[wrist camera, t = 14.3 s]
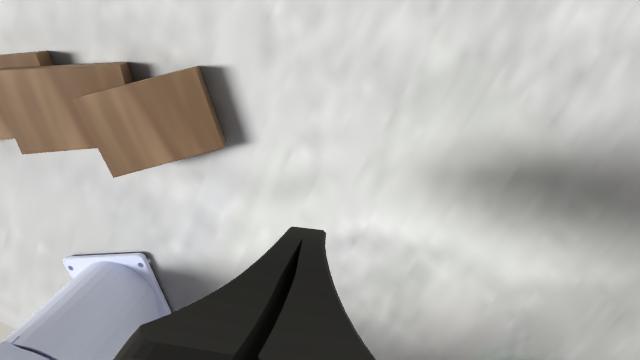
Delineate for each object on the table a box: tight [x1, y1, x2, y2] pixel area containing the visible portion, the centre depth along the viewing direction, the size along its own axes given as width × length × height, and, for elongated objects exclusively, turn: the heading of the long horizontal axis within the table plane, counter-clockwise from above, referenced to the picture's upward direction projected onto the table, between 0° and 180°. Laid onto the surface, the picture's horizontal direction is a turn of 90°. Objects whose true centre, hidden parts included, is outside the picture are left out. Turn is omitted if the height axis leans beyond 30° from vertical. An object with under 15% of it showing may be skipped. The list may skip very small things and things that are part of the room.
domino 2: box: [0, 62, 133, 154], centre depth 22 cm, size 2×5×7 cm
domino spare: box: [72, 66, 226, 178], centre depth 21 cm, size 2×5×7 cm
